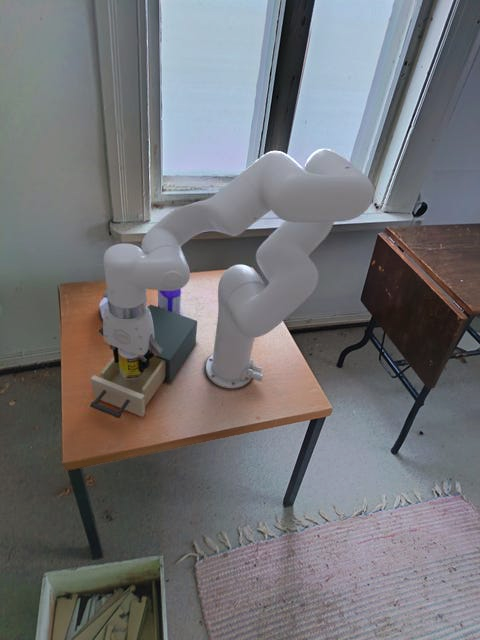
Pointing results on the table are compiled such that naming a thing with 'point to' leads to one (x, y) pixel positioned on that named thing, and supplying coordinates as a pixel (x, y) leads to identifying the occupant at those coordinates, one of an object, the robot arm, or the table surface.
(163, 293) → the bottle
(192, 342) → the cabinet
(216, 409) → the table surface
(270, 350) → the table surface
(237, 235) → the robot arm
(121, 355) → the supplement bottle
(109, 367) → the drawer
